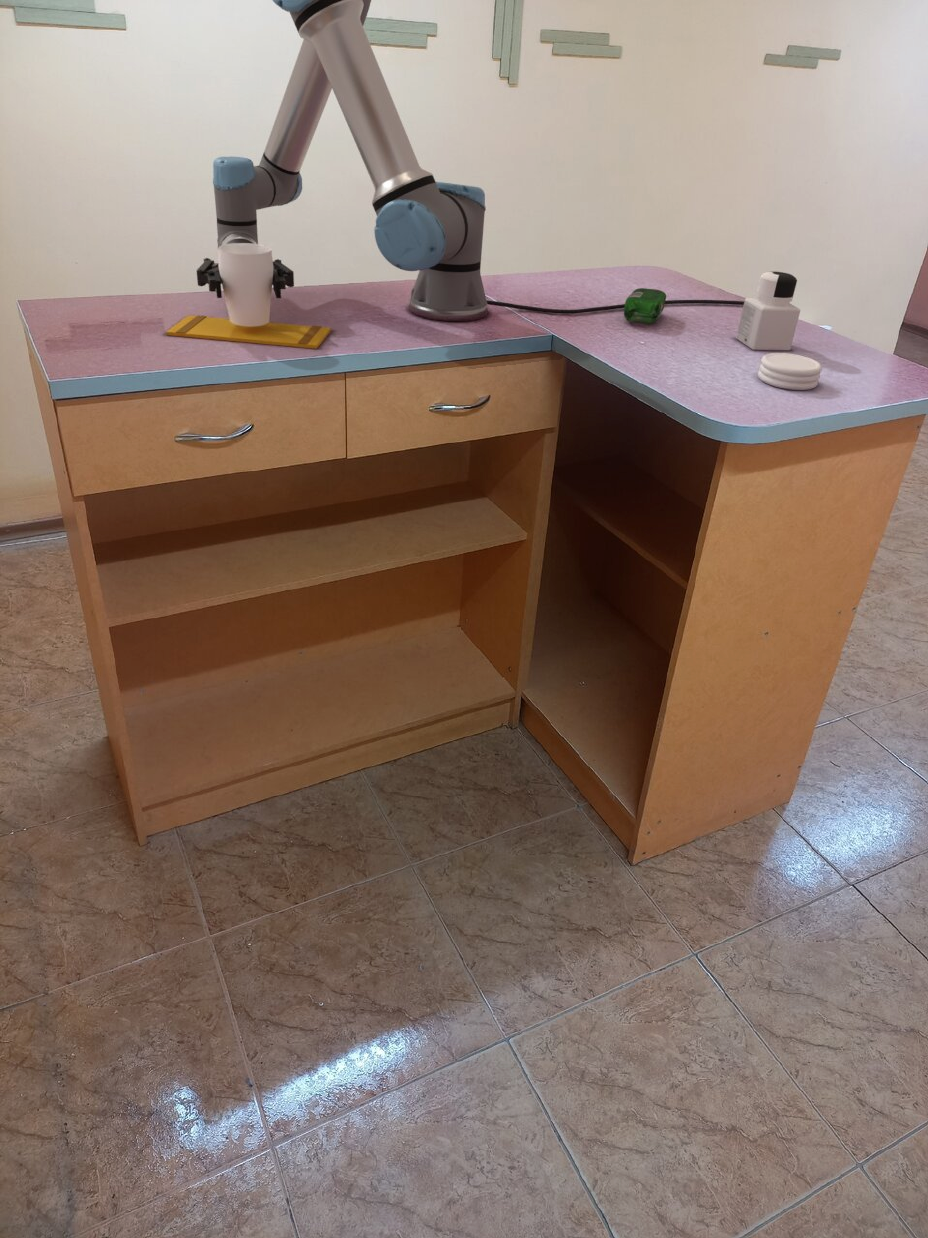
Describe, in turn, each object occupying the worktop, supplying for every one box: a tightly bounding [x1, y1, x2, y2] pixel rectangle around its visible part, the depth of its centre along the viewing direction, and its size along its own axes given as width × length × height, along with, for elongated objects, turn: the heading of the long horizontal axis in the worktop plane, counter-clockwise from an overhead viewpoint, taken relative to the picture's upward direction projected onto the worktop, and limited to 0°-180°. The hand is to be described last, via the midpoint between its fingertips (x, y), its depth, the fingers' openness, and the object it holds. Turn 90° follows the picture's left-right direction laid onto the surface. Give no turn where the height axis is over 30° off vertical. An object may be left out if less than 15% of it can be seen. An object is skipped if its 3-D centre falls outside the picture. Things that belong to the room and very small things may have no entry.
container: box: [736, 271, 801, 351], centre depth 168 cm, size 8×8×13 cm
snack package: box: [623, 287, 667, 325], centre depth 180 cm, size 7×16×5 cm, turn 161°
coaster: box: [757, 352, 823, 391], centre depth 152 cm, size 10×10×4 cm
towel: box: [165, 314, 332, 350], centre depth 156 cm, size 26×11×1 cm, turn 85°
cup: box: [217, 243, 274, 327], centre depth 152 cm, size 9×9×12 cm
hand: (248, 289), depth 148 cm, fingers closed on cup, 9 cm apart
